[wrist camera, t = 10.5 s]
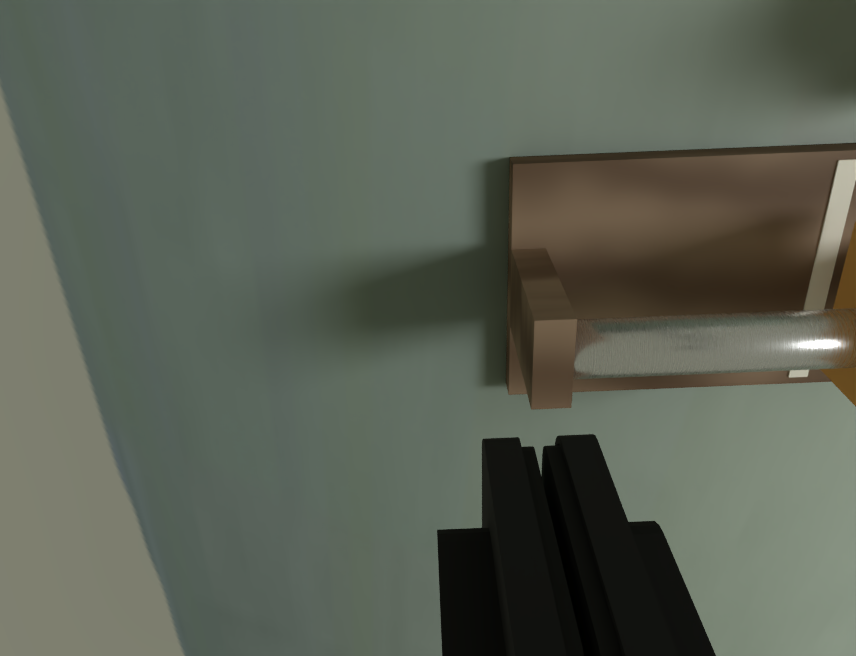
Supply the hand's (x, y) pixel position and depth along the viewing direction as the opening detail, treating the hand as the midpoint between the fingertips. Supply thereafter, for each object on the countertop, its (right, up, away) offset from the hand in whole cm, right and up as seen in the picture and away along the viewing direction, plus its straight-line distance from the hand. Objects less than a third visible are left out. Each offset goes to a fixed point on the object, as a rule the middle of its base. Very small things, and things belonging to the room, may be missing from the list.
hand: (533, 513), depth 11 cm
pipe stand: (+16, +6, +33) cm, 37 cm away
